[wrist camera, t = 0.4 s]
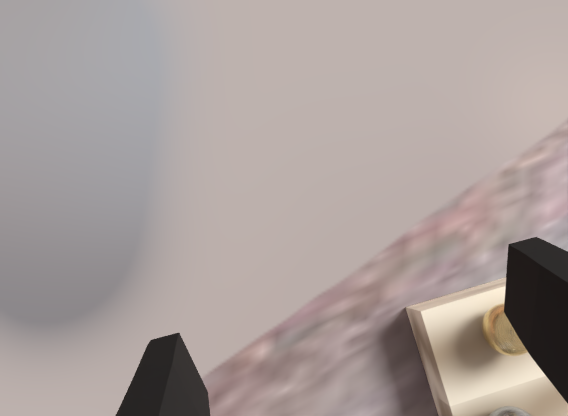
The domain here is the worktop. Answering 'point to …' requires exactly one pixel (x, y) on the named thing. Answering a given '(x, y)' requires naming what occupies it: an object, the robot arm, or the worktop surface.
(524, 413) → the steel ball
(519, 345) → the brass ball
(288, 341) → the worktop surface
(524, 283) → the robot arm
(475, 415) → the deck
